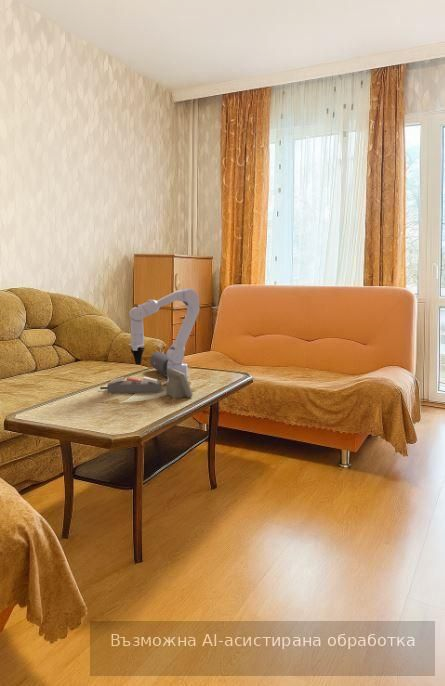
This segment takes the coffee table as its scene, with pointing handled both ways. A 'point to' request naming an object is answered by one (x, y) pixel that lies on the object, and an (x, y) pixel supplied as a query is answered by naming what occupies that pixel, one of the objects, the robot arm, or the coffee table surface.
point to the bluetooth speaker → (159, 362)
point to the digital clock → (178, 384)
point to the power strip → (133, 387)
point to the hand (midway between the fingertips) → (138, 364)
